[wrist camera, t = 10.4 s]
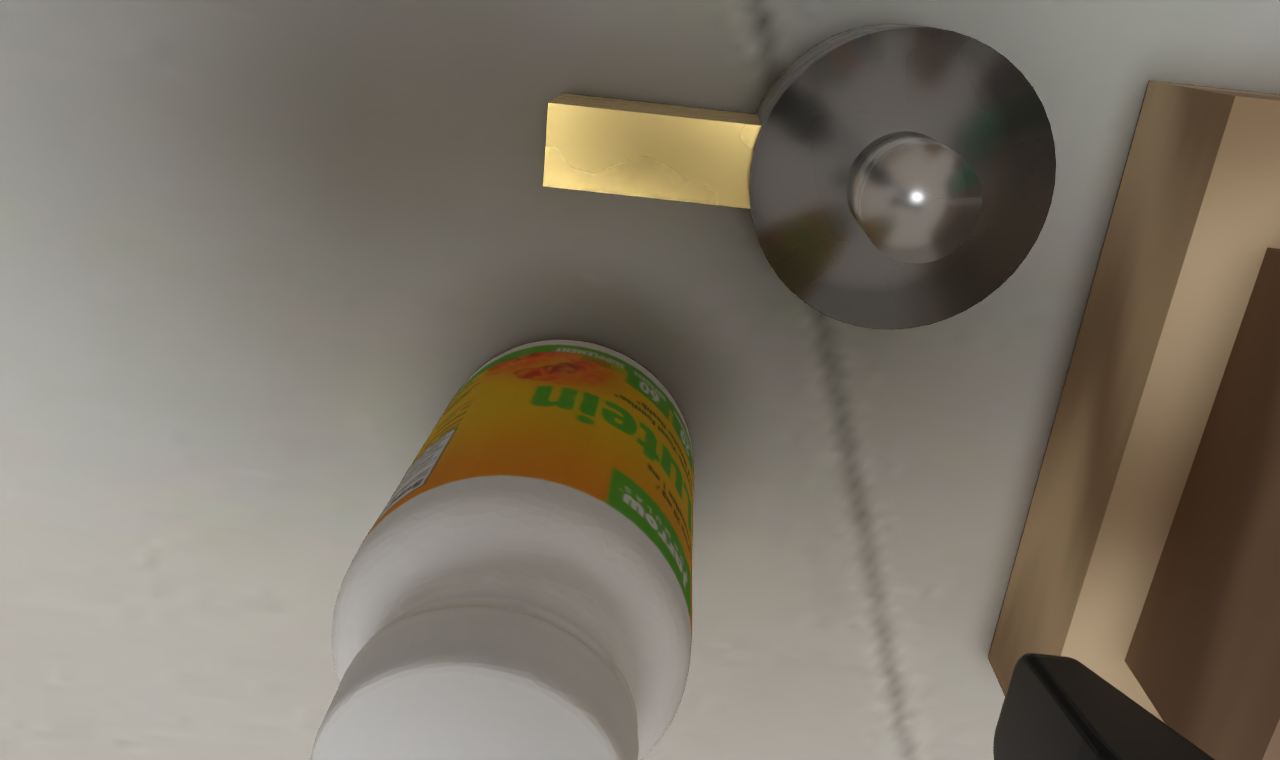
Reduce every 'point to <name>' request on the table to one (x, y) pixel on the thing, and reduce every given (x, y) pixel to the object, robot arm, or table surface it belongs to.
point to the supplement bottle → (525, 574)
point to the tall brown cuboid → (1225, 561)
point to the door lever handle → (847, 169)
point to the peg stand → (1144, 374)
